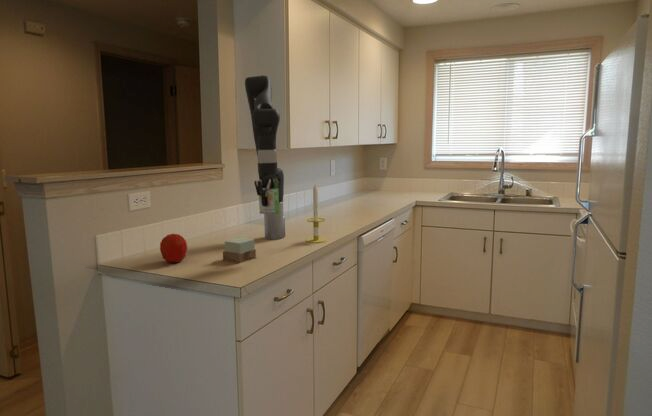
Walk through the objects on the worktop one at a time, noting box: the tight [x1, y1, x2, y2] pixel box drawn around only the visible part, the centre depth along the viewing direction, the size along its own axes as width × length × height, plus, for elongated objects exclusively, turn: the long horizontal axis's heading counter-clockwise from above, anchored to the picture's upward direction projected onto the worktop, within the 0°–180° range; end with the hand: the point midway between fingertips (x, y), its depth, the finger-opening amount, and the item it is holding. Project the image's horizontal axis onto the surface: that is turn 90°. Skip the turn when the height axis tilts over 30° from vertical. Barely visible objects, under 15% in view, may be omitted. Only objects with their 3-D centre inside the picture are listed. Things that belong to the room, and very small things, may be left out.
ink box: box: [258, 179, 279, 215], centre depth 180 cm, size 7×4×13 cm, turn 65°
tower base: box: [222, 248, 257, 264], centre depth 182 cm, size 9×9×4 cm
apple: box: [159, 233, 188, 264], centre depth 179 cm, size 10×10×12 cm
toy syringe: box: [305, 183, 328, 244], centre depth 212 cm, size 10×10×27 cm
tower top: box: [224, 237, 255, 254], centre depth 182 cm, size 8×8×4 cm
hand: (268, 205), depth 181 cm, fingers closed on ink box, 4 cm apart
